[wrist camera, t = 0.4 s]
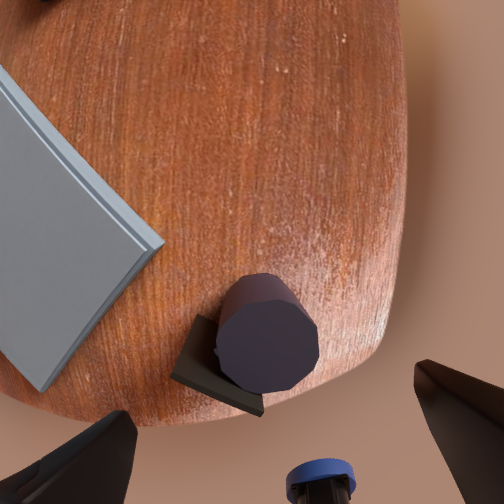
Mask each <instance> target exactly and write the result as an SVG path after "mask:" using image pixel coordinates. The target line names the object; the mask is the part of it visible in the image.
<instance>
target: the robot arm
mask: <svg viewBox="0 0 504 504" xmlns="http://www.w3.org/2000/svg"><path fill="white" fill-rule="evenodd" d="M414 390H415V393H416V395H417V398H418V401H419V403H420V406H421V408H422V411H423V413H424V416H425V419H426V422H427V424H428V427H429V429H430V431H431V434H432V435H433V437H434V439H435V441H436V443H437V445H438V447H439V449H440V451H441V453H442V455H443V457H444V459H445V461H446V463H447V465H448V467H449V469H450V471H451V473H452V475H453V477H454V480H455V482H456V484H457V486H458V488H459V490H460V492H461V494H462V497H463V499H464V501H465V503H466V504H504V389H503V388H500V387H498V386H495V385H492V384H490V383H487V382H484V381H482V380H479V379H477V378H474V377H472V376H469V375H467V374H464V373H462V372H459V371H457V370H454V369H452V368H449V367H447V366H444V365H442V364H439V363H436V362H434V361H432V360H429V359H426V360H423V361H420V362H417V363H416V364H415V368H414ZM137 435H138V431H137V428H136V426H135V424H134V422H133V421H132V419H131V417H130V415H129V413H128V412H127V411H125V410H114V411H112V412H111V413H110V414H108V415H107V416H105V417H104V418H102V419H101V420H99V421H98V422H96V423H95V424H93V425H92V426H90V427H89V428H88V429H86V430H84V431H83V432H82V433H80V434H78V435H77V436H75V437H74V438H72V439H71V440H69V441H68V442H66V443H65V444H63V445H62V446H60V447H59V448H57V449H55V450H54V451H52V452H51V453H49V454H48V455H46V456H44V457H43V458H42V459H41V460H38V461H36V462H35V463H33V464H32V465H30V466H28V467H27V468H25V469H23V470H21V471H19V472H17V473H16V474H13V475H12V476H10V477H8V478H6V479H3V480H1V481H0V504H123V503H124V499H125V495H126V492H127V488H128V484H129V480H130V476H131V472H132V467H133V460H134V454H135V448H136V441H137ZM290 490H291V493H292V496H293V498H294V501H295V504H350V503H349V501H350V500H351V494H350V482H349V475H348V474H347V473H345V474H340V475H336V476H331V477H327V478H322V479H317V480H312V481H306V482H300V483H294V484H291V485H290Z"/></svg>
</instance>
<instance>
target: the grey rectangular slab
mask: <svg viewBox="0 0 504 504" xmlns="http://www.w3.org/2000/svg"><path fill="white" fill-rule="evenodd" d="M164 244H165V241H164V240H163V239H162V238H161V237H160V236H159V235H158V234H157V233H156V232H155V231H154V230H153V229H152V228H151V227H150V226H149V225H148V224H147V223H146V222H145V221H144V220H142V219H141V218H140V217H139V216H138V215H137V214H136V213H135V212H134V211H133V210H132V209H131V208H130V207H129V206H128V204H127V203H126V202H125V201H124V200H123V199H122V198H121V197H120V196H119V195H118V194H117V193H116V192H115V191H114V190H113V189H112V188H111V187H110V186H109V185H108V184H107V183H106V182H105V181H104V180H103V179H102V178H101V177H100V176H99V175H98V174H97V173H96V172H95V171H94V169H93V168H92V167H91V166H90V165H89V164H88V163H87V162H86V161H85V160H84V159H83V158H82V157H81V156H80V155H79V154H78V152H77V151H76V150H75V149H74V148H73V147H72V146H71V145H70V144H69V143H68V142H67V141H66V139H65V138H64V137H63V136H62V135H61V134H60V133H59V132H58V131H57V130H56V128H55V127H54V126H53V125H52V124H51V123H50V122H49V121H48V120H47V118H46V117H45V116H44V115H43V114H42V113H41V112H40V111H39V109H38V108H37V107H36V106H35V105H34V104H33V103H32V101H31V100H30V99H29V98H28V97H27V96H26V94H25V93H24V92H23V91H22V90H21V89H20V87H19V86H18V85H17V84H16V83H15V81H14V80H13V79H12V78H11V77H10V75H9V74H8V73H7V72H6V71H5V69H4V68H3V67H2V66H1V65H0V350H1V352H2V353H3V354H4V355H5V356H6V357H7V358H8V360H9V361H10V362H11V363H12V364H13V365H14V366H15V367H16V368H17V370H18V371H19V372H20V373H21V374H22V375H23V376H24V377H25V378H26V379H27V380H28V381H29V382H30V383H31V384H32V385H33V386H34V387H35V388H36V389H37V390H38V391H39V392H41V393H42V394H44V392H45V391H46V390H47V389H48V388H49V387H50V386H51V385H52V383H53V382H54V381H55V380H56V378H57V377H58V376H59V374H60V373H61V371H62V370H63V369H64V367H65V366H66V365H67V363H68V362H69V361H70V359H71V358H72V356H73V355H74V354H75V352H76V351H77V350H78V349H79V347H80V346H81V345H82V343H83V342H84V341H85V339H86V338H87V337H88V335H89V334H90V333H91V332H92V330H93V329H94V328H95V326H96V325H97V324H98V323H99V321H100V320H101V319H102V318H103V316H104V315H105V314H106V313H107V311H108V310H109V309H110V308H111V306H112V305H113V304H114V303H115V301H116V300H117V299H118V298H119V296H120V295H121V294H122V293H123V292H124V290H125V289H126V288H127V287H128V286H129V284H130V283H131V282H132V281H133V280H134V278H135V277H136V276H137V275H138V274H139V272H140V271H141V270H142V269H143V268H144V267H145V265H146V264H147V263H148V262H149V261H150V260H151V258H152V257H153V256H154V255H155V254H156V253H157V252H158V250H159V249H160V248H161V247H162V246H163V245H164Z"/></svg>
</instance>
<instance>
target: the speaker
mask: <svg viewBox="0 0 504 504" xmlns="http://www.w3.org/2000/svg"><path fill="white" fill-rule="evenodd" d="M318 358H319V344H318V333H317V326H316V325H315V323H314V322H313V320H312V319H311V318H310V316H309V315H308V313H307V312H306V310H305V309H304V308H303V306H302V305H301V303H300V302H299V300H298V299H297V298H296V296H295V295H294V293H293V292H292V291H291V290H290V289H289V288H288V287H287V286H286V285H285V284H284V283H283V282H282V281H281V280H280V279H279V278H278V277H277V276H274V275H271V274H268V273H261V274H254V275H247V276H243V277H242V278H240V279H239V280H238V281H237V282H236V283H235V284H234V285H233V286H232V287H231V288H230V289H229V290H228V291H227V292H226V294H225V297H224V300H223V304H222V309H221V315H220V321H219V324H217V323H215V322H213V321H211V320H209V319H207V318H205V317H203V316H201V315H199V314H197V316H196V318H195V320H194V323H193V325H192V327H191V329H190V332H189V334H188V336H187V338H186V341H185V343H184V345H183V347H182V350H181V352H180V354H179V357H178V359H177V361H176V363H175V366H174V368H173V370H172V373H171V375H170V377H169V378H171V379H173V380H175V381H177V382H179V383H181V384H183V385H186V386H188V387H190V388H192V389H194V390H196V391H198V392H201V393H203V394H205V395H207V396H209V397H212V398H214V399H216V400H219V401H221V402H223V403H226V404H228V405H230V406H233V407H235V408H238V409H240V410H243V411H245V412H248V413H250V414H253V415H256V416H258V417H261V416H262V415H263V413H264V406H263V398H262V394H264V393H271V392H278V391H285V390H290V389H291V388H293V387H294V386H295V385H296V384H297V383H299V382H300V381H301V380H302V379H303V378H304V377H306V376H307V375H308V374H309V373H310V372H311V371H313V369H314V367H315V365H316V363H317V361H318Z"/></svg>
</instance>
